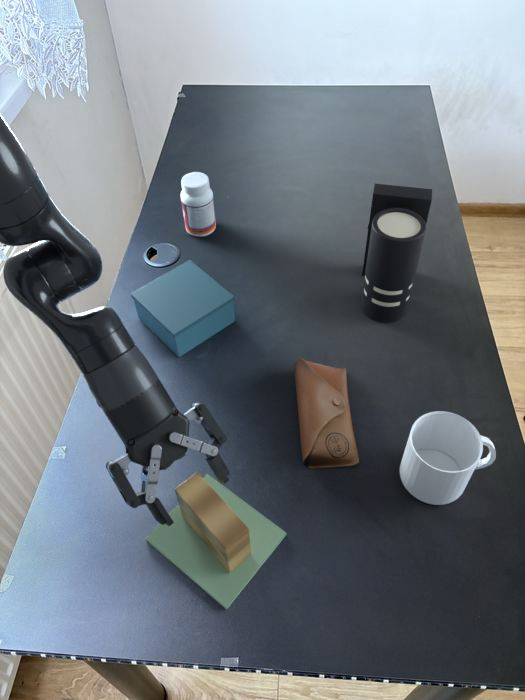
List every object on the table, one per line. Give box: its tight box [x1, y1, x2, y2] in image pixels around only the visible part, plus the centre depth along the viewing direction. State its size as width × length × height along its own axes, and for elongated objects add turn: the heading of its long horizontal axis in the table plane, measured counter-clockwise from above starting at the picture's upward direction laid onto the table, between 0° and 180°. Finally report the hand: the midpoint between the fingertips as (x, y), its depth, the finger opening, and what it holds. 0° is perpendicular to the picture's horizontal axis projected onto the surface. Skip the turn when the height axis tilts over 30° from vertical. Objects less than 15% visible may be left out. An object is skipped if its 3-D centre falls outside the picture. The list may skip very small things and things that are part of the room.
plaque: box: [174, 471, 251, 573], centre depth 75 cm, size 10×4×8 cm, turn 41°
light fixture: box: [360, 183, 433, 323], centre depth 99 cm, size 10×14×18 cm
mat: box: [145, 473, 288, 610], centre depth 78 cm, size 12×14×1 cm
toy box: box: [130, 259, 236, 358], centre depth 101 cm, size 12×12×6 cm
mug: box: [399, 410, 497, 506], centre depth 79 cm, size 12×9×9 cm
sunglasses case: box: [293, 357, 360, 470], centre depth 89 cm, size 18×7×7 cm
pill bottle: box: [180, 171, 217, 238], centre depth 115 cm, size 6×6×11 cm
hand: (197, 501), depth 74 cm, fingers open, 8 cm apart
